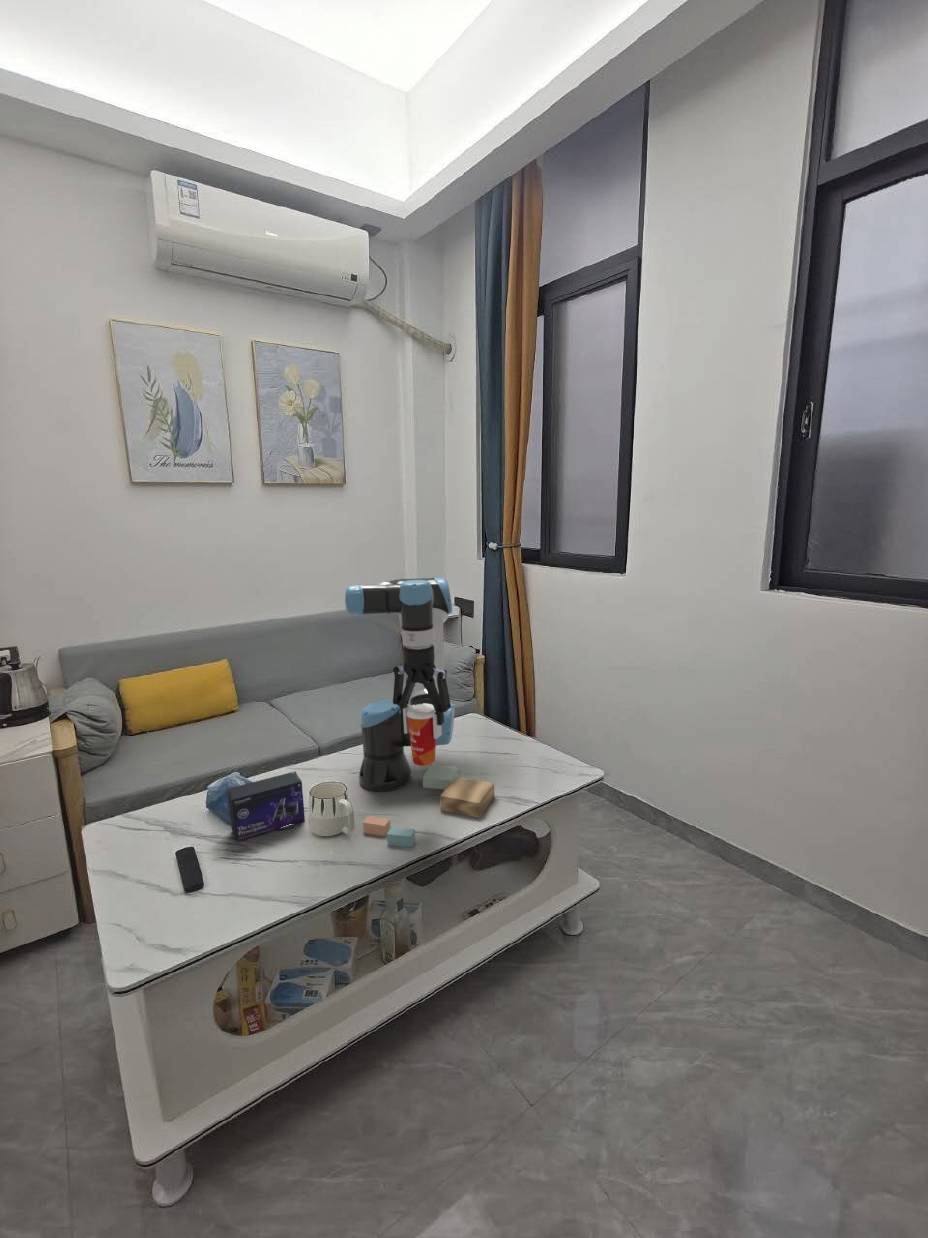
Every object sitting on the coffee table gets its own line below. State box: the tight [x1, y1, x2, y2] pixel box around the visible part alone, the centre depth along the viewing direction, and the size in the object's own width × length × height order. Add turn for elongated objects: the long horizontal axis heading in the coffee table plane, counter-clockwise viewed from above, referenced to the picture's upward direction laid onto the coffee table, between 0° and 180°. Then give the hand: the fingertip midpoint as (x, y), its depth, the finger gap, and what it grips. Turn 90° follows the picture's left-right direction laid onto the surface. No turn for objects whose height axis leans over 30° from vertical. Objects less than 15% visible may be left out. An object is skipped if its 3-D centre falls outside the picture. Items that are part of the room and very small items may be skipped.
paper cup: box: [406, 703, 437, 767], centre depth 143 cm, size 8×8×14 cm
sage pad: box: [422, 764, 458, 790], centre depth 166 cm, size 8×8×3 cm
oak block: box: [439, 776, 495, 818], centre depth 154 cm, size 11×11×4 cm
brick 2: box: [386, 826, 416, 848], centre depth 138 cm, size 6×3×3 cm, turn 79°
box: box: [226, 770, 306, 843], centre depth 145 cm, size 17×7×12 cm, turn 121°
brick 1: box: [362, 815, 391, 837], centre depth 143 cm, size 6×3×3 cm, turn 72°
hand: (422, 734), depth 143 cm, fingers closed on paper cup, 8 cm apart
